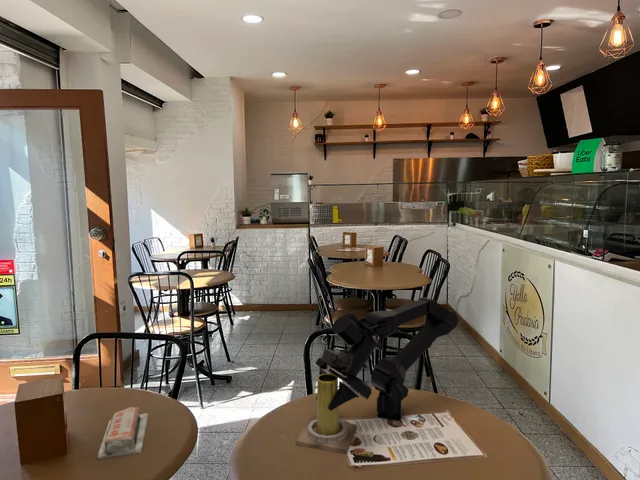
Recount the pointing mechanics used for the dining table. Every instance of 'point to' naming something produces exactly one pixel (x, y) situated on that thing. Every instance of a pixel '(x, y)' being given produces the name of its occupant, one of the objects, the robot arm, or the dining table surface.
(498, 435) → the dining table surface
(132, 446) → the packaged product
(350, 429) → the socket board
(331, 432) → the vase
